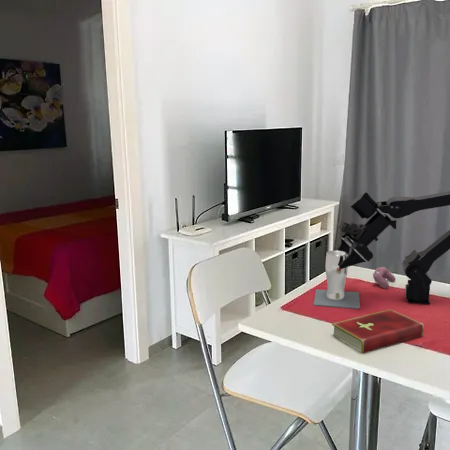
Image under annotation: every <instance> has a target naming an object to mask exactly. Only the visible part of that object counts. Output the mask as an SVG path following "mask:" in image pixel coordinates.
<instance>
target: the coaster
mask: <svg viewBox="0 0 450 450" xmlns="http://www.w3.org/2000/svg"><path fill="white" fill-rule="evenodd" d="M344 292H345V299H344V300H342V301H332V300H329V299H327V298H326V293H327V289H315V294H314V301H313V306H314V307H324V308H326V307H327V308H339V309H340V308H341V309H354V310H361V309H360V308H361V305H360V292H359V291H347V290H346V291H345V290H344Z"/></svg>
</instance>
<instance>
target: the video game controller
mask: <svg viewBox="0 0 450 450" xmlns="http://www.w3.org/2000/svg"><path fill="white" fill-rule="evenodd" d="M372 277H373V280H374V281H375V282H376V283H377V284H378V285H379V286H380V287H381V288H383V289H386V290H388V289H389V288H390V285H389V283H388V282H387V281H390V282H392V283H395V282H396V280H397V278H396V276H395V275H394V274H392V272H390V270H389V269H388V268H386V267H385V266H379V267H377V268H375V270H374V272H373V273H372Z"/></svg>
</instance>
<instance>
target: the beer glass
mask: <svg viewBox="0 0 450 450" xmlns="http://www.w3.org/2000/svg"><path fill="white" fill-rule="evenodd" d="M348 254H349V253H347V252H344V251H338V250H337V249H336V250H328V251H326V256H325V275H326V283H327V285H326V286H327V288H326V290H327V293H326V298H327V299H329V300H332V301H342V300H344V299H345V292H344V291H345V287H346V286H345V285H346V279H347V276H348V269H349V267H346V268H343V269H340V268H339V266H340V264H341V263H342V262H343V260H344V259H345V258H346V257H347V255H348Z"/></svg>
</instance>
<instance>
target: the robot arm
mask: <svg viewBox="0 0 450 450" xmlns="http://www.w3.org/2000/svg"><path fill="white" fill-rule="evenodd" d="M348 206H349V208H350V209H351V210H353V211H354V213H356V215H358V217H359V218H361V219H366V220H367V219H368V220H367V221H365V222H364V223H359V224H357V223H356V222H353V221H351V222H349V221H347V220H344V219H341V221H340V223H339V226H337V229H338V230H339V231H340V232H341V233H339V245H338V246H337V248H336V250H338V251H344V252H347V253H348V255H347V257H346V258H345V259H344V260H343V262H342V263H341V264H340V266H339V268H340V269H343V268H346V267H348V268H349V267H351V266H355V265H358V264H361V263H366V262H367V263H369V262H370V261H371V260H372V259H373V257H374V253H373V252H372V251H371V250H370V249H369V246H370V245H371V244H372V243H373V242H374V241H375V242H377V241H379V238H378V237H379V236H380V235H381V234H382V233H384V231H386V230H387V228H389V227H390V228H392V229H393V230H396V229H397V223H398V222H397V220H396V219H401V218H404V217H407V216H410V215H412V214H414V213H416V212H420V211H424V210H430V209H435V208H436V209H437V208H441V207H447V206H450V190H449V191H444V192H438V193H432V194H427V195H421V196H416V197H415V196H413V197H411V196H392V197H390V198H388V199H387V200H383V201H375V200H374V199H373V198H372V197H371V195H370V194H369V193H368V192H367V191H364V192H363V193H362V194H360V195H359V196H356V197H355V198H354V199H353V200H352V201H351V203H349V205H348ZM390 217H391V218H390ZM392 218H393V219H392ZM448 251H450V229H449V230H447V231H446V232H445V233H443V234H442V235H441V236H440V237H439V238H438V239H436V240H435V241H434V242H433V243H431V244H430V245H428V246H427V247H426V248H425V249H424V250H421V251H419V252H417V250H416V249H413V250H412V251H411V252H410V253H409V254H408V255H406V256H404V259H403V261H402V263H401V267H402V271H403V272H404V274H405V276H406V277H407V278H408V279H407V284H405V289H404V292H405V293H404V297H405V300H406V301H407V303H408V304H418V305H420V304H421V305H422V304H423V305H431V302H430V292H431V291H430V290H431V289H430V288H431V284H432V282H433V280H432V278H431V276H430V275H428V272H429V271H430V270H431V267H432V266H433V264H434V263H435V261H437V260H438V259H439V258H441V257H442V256H443V255H444V254H445V253H447V252H448Z"/></svg>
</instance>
